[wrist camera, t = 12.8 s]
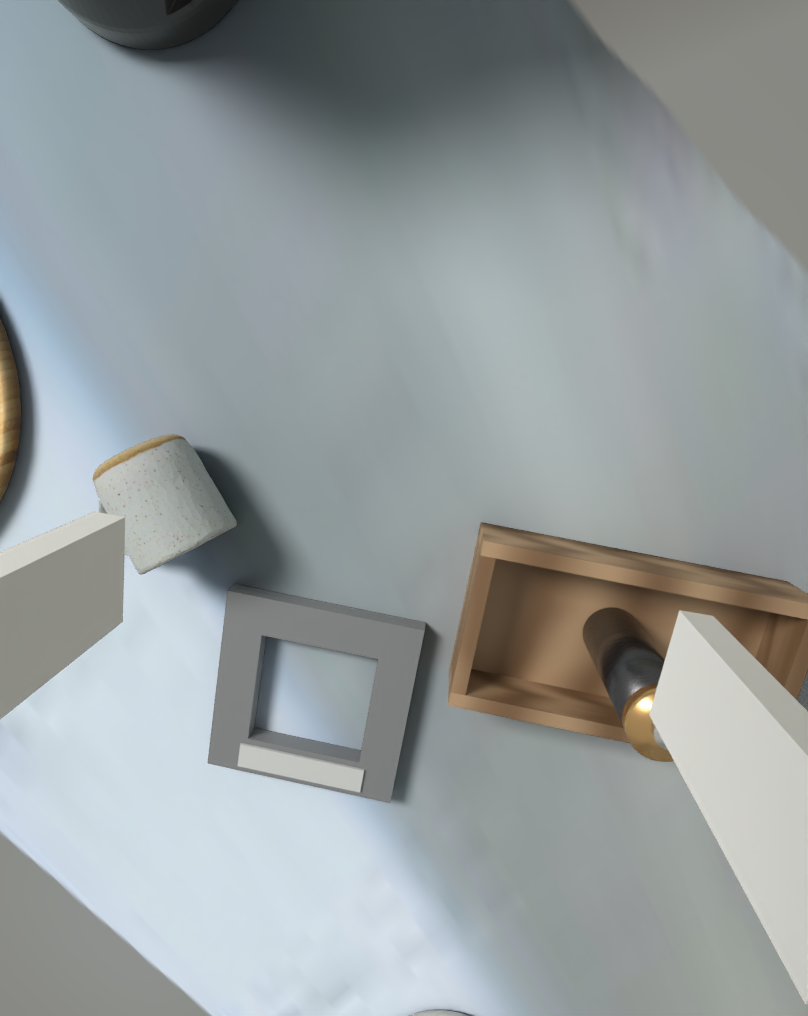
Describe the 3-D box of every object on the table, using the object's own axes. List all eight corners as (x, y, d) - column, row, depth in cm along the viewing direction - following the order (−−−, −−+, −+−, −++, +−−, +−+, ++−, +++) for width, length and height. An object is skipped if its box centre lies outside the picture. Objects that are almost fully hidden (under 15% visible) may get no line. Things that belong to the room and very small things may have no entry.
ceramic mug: (198, 423, 44) (144, 433, 36) (253, 516, 45) (212, 544, 38) (90, 486, 46) (19, 507, 38) (146, 573, 47) (87, 610, 40)
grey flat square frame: (234, 583, 46) (226, 591, 44) (425, 622, 45) (424, 631, 44) (214, 751, 49) (206, 764, 48) (392, 790, 49) (389, 804, 47)
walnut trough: (449, 670, 46) (448, 705, 41) (481, 522, 43) (483, 540, 38) (736, 729, 45) (770, 772, 40) (787, 581, 42) (830, 608, 37)
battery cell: (589, 601, 43) (642, 693, 30) (646, 613, 43) (722, 710, 30) (576, 652, 44) (622, 761, 31) (631, 664, 43) (699, 778, 31)
